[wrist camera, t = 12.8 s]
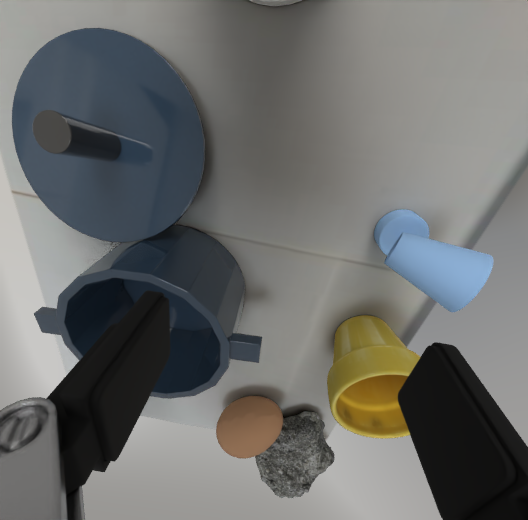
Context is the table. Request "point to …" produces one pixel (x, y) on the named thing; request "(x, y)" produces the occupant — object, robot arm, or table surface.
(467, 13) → the table surface
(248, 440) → the egg
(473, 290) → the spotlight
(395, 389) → the flower pot
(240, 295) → the pot
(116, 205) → the pot lid
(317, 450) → the rock
